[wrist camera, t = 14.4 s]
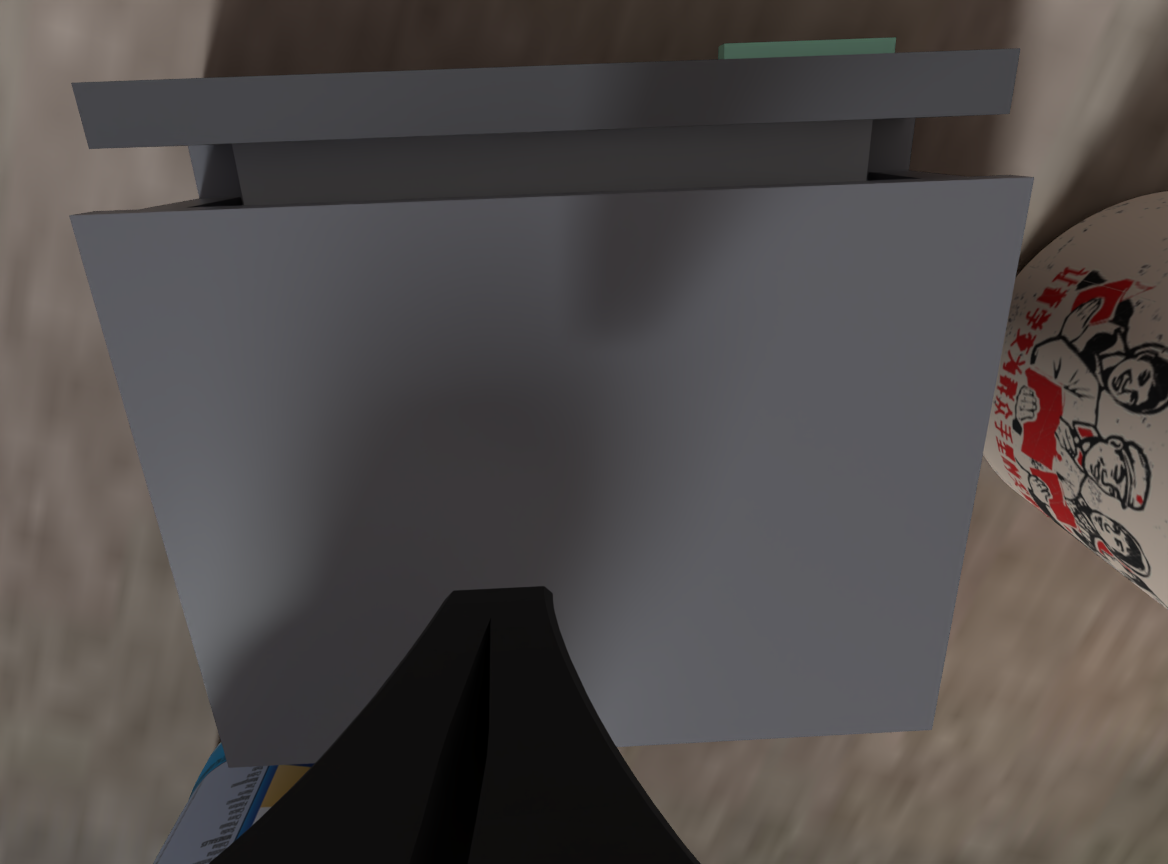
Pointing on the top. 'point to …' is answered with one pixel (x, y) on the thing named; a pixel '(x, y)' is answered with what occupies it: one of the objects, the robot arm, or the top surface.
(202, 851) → the beverage bottle
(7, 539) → the top surface
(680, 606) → the grey drawer box
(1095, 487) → the cream lidded canister
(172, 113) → the tray
